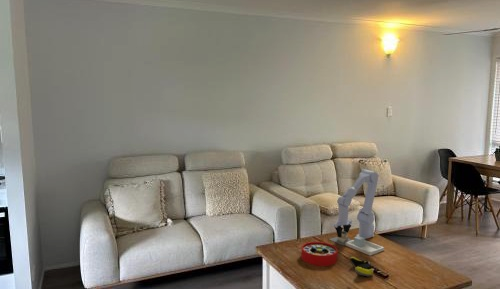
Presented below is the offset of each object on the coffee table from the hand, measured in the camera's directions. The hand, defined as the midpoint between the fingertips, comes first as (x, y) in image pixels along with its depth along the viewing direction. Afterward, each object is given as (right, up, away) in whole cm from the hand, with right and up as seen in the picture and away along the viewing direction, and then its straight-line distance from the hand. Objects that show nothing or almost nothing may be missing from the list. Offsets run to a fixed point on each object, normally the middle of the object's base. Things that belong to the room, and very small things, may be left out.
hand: (342, 236), depth 237 cm
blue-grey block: (+8, -4, -8) cm, 12 cm away
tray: (+11, -5, -11) cm, 16 cm away
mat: (0, -3, 0) cm, 3 cm away
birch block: (0, -3, 0) cm, 3 cm away
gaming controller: (0, -9, -41) cm, 42 cm away
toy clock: (-19, -7, -25) cm, 32 cm away
